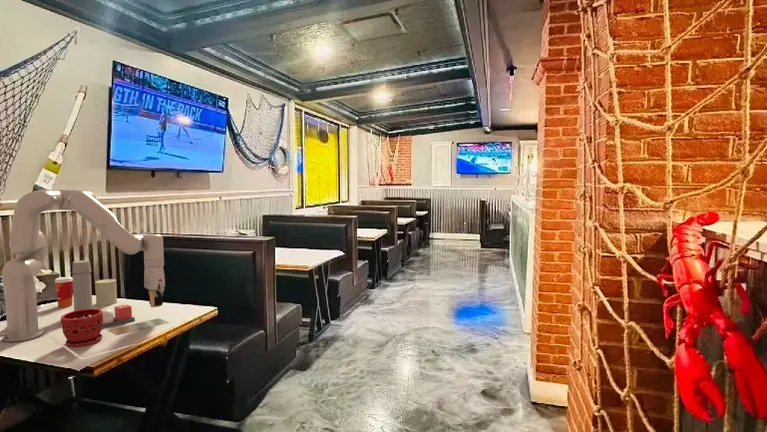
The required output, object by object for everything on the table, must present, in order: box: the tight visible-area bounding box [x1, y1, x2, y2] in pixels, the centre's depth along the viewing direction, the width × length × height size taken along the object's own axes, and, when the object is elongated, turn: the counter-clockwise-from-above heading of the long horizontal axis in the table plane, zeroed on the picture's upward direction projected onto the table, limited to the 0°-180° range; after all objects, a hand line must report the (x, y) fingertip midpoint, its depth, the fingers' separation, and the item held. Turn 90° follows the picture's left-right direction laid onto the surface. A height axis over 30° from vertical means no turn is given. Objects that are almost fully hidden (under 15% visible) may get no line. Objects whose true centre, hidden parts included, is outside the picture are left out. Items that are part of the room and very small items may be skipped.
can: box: [94, 278, 118, 307], centre depth 224 cm, size 9×9×12 cm
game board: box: [107, 317, 170, 336], centre depth 186 cm, size 21×10×1 cm, turn 141°
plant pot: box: [60, 308, 103, 348], centre depth 167 cm, size 13×13×12 cm
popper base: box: [96, 304, 136, 329], centre depth 190 cm, size 14×8×7 cm, turn 141°
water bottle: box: [70, 259, 93, 311], centre depth 204 cm, size 9×8×25 cm
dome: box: [102, 308, 115, 324], centre depth 188 cm, size 6×6×7 cm
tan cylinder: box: [149, 290, 163, 308], centre depth 191 cm, size 4×4×7 cm
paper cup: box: [54, 276, 74, 308], centre depth 218 cm, size 8×8×14 cm
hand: (156, 303), depth 191 cm, fingers closed on tan cylinder, 4 cm apart
